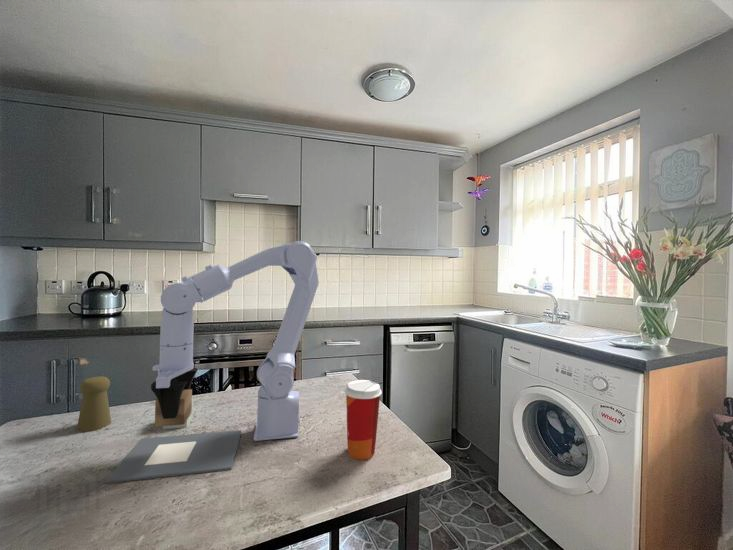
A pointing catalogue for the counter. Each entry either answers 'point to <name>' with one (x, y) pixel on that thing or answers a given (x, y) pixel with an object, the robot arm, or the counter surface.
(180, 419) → the walnut block
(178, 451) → the mat
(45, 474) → the counter surface
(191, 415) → the sage block
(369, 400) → the paper cup
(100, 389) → the cork
